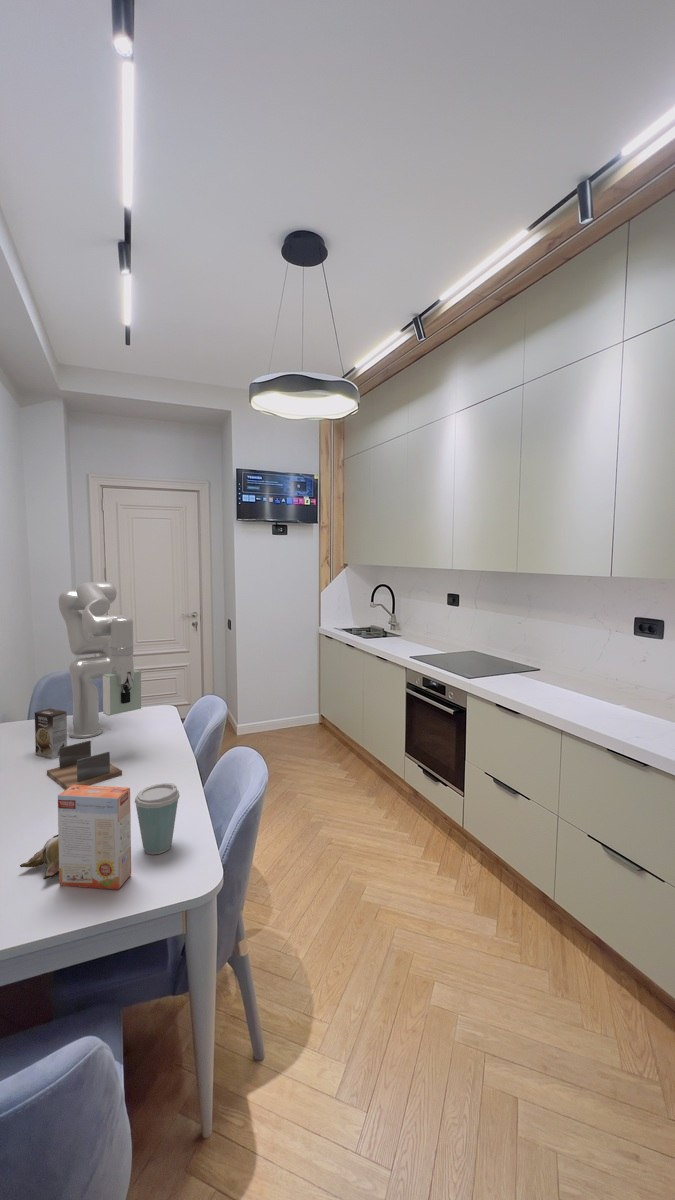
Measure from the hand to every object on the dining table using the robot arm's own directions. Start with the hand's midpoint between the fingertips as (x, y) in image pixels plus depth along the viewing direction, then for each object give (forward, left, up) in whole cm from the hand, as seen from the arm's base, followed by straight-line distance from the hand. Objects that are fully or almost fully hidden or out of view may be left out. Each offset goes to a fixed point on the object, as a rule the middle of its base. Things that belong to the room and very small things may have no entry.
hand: (122, 701), depth 180 cm
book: (0, 0, -4) cm, 4 cm away
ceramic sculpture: (+52, -39, -22) cm, 69 cm away
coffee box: (-22, -17, -21) cm, 35 cm away
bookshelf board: (+5, -16, -21) cm, 27 cm away
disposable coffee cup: (+62, -21, -21) cm, 69 cm away
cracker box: (+64, -37, -21) cm, 77 cm away
